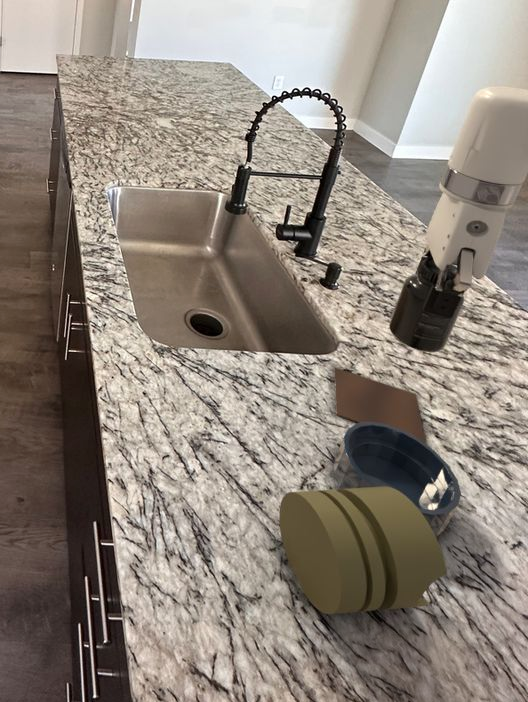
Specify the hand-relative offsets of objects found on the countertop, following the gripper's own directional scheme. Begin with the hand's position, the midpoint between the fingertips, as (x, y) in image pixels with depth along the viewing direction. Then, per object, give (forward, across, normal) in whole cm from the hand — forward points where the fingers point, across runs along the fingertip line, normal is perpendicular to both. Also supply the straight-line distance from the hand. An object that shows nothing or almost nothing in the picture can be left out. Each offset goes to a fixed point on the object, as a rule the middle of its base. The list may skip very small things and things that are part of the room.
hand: (431, 297), depth 75 cm
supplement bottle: (+7, 0, 0) cm, 7 cm away
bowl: (+24, -13, 0) cm, 28 cm away
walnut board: (+24, +3, 0) cm, 25 cm away
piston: (+25, -28, +6) cm, 38 cm away
